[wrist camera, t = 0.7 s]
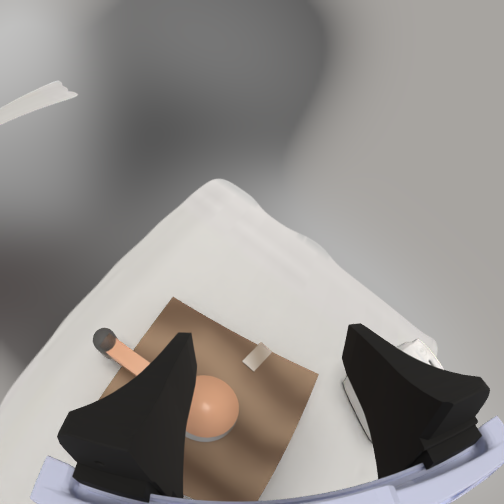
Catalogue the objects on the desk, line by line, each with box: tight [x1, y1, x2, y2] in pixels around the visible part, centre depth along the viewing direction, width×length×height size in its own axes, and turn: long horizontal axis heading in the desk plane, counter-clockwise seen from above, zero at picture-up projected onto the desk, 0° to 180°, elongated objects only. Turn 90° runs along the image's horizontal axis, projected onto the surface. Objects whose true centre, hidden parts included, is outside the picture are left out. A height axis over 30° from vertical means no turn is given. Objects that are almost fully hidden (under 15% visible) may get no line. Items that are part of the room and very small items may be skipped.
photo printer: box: [343, 339, 444, 441], centre depth 21 cm, size 10×4×12 cm, turn 23°
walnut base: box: [99, 297, 319, 502], centre depth 22 cm, size 18×18×2 cm
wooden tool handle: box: [93, 328, 239, 438], centre depth 20 cm, size 14×5×4 cm, turn 64°
